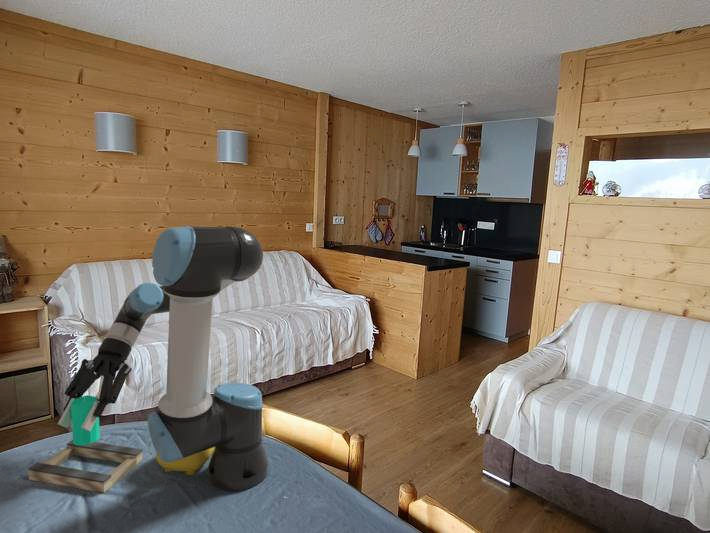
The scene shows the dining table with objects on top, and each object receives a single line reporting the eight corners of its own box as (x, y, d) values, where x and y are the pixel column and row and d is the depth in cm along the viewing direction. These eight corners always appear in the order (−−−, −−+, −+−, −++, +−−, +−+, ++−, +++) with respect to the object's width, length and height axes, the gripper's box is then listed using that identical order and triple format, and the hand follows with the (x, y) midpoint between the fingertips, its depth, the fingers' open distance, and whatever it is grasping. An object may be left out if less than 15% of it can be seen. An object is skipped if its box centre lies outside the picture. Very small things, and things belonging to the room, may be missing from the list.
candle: (87, 447, 109) (85, 401, 107) (66, 443, 110) (64, 398, 109) (105, 434, 115) (103, 391, 113) (85, 431, 116) (83, 388, 114)
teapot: (227, 445, 127) (227, 404, 125) (192, 489, 107) (191, 441, 106) (184, 439, 129) (183, 399, 127) (141, 481, 109) (140, 435, 108)
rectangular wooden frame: (142, 459, 118) (142, 449, 118) (104, 492, 105) (103, 481, 104) (74, 448, 122) (74, 438, 122) (29, 479, 108) (28, 468, 108)
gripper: (155, 352, 123) (116, 437, 110) (96, 345, 126) (50, 427, 113) (142, 340, 117) (99, 428, 104) (80, 333, 121) (30, 417, 107)
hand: (74, 427), depth 108 cm, fingers closed on candle, 6 cm apart
